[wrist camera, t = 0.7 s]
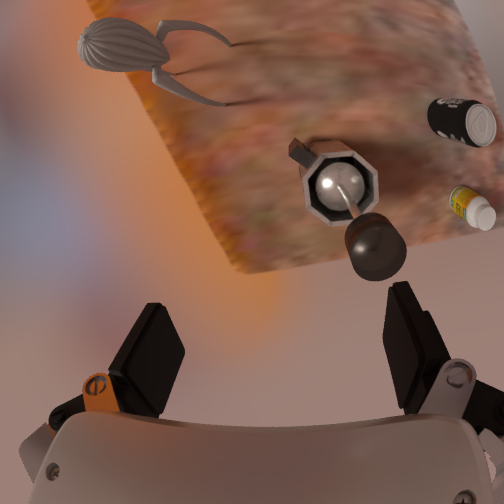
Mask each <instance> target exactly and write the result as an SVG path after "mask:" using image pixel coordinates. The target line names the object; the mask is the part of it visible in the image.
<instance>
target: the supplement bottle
mask: <svg viewBox="0 0 504 504" xmlns="http://www.w3.org/2000/svg"><path fill="white" fill-rule="evenodd" d="M449 203H450V207H451V209H452V210H453V211H454V212H455V213H456V214H457V215H459V216H460V217H461V218H462V219H463V220H465V221H466V222H467V223H468V224H469V225H471V226H472V227H474V228H480V229H481V230H483V231H487V230H489V229H491V228H492V226H493V225H494V223H495V220H496V213H495V210H494V209H493V208H492V207H491V206H490V204H489V202H488V201H487V200H486V199H485V198H484V197H482V196H481V195H479V194H477V193H476V192H474V191H472V190H471V189H469V188H468V187H466V186H458V187H456V188H455V189H454V190H453V191H452V193H451V195H450V201H449Z"/></svg>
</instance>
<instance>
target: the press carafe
mask: <svg viewBox="0 0 504 504" xmlns="http://www.w3.org/2000/svg"><path fill="white" fill-rule="evenodd" d="M289 156H290V157H291V158H292V159H294V160H295V161H297V162H298V163H299V170H300V176H301V180H302V187H303V193H304V199H305V205H306V209H307V210H309V211H310V212H311V213H313V214H314V215H315V216H317V217H318V218H319V219H320V220H322V221H323V222H324V223H326V224H327V225H328V226H330V227H331V226H341V225H349V224H350V223H351V222H352V221H353V220H354V218H353V216H352V215H351V213H350V211H349V209H347V210H341V211H338V210H333V209H330V208H328V207H326V206H325V205H324V204H323V203H322V202H321V201H320V199H319V197H318V195H317V192H316V187H315V184H316V178H317V176H318V174H319V172H320V171H321V170H322V168H324V167H325V166H326V165H328V164H330V163H333V162H346V163H349V164H351V165H352V166H354V167H355V168H356V169H357V170H358V171H359V172H360V174H361V175H362V178H363V180H364V192H363V195H362V198H361V199H360V201H359V202H358V203H357V204H356V205H357V206H358V208H359V210H360V211H361V213H362V214H365V213H369V212H370V211H371V210H372V209H373V207H374V206H375V205H376V204H377V203H378V202H379V191H378V171H377V170H376V169H374V168H373V167H372V166H371V165H370V164H369V163H368V162H367V161H366V160H364V159H363V158H362V157H361V156H360V155H359V154H358V153H356V152H355V151H354V150H352V149H351V148H350V147H348V146H347V145H345V144H343V143H342V142H340V141H339V140H337V139H335V140H321V141H315V142H313V143H312V144H311V145H310V146H309V147H307V146H306V145H304V144H303V143H302V142H300V141H299V140H298V139H296V138H294V140H293V141H292V142H291V143H290V145H289Z"/></svg>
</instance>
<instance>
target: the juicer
mask: <svg viewBox="0 0 504 504" xmlns="http://www.w3.org/2000/svg"><path fill="white" fill-rule="evenodd" d="M175 30H197V31H202V32H205V33H207V34H210V35H212V36H214V37H216V38H218V39H219V40H221V41H222V42H224V43H225V44H227V45H228V46H229V47H231V46H232V44H231V43H230V42H229V41H228V40H227V39H226V38H225V37H224V36H223V35H222V34H220V33H219V32H217V31H216V30H214V29H212V28H210V27H208V26H205V25H202V24H199V23H196V22H191V21H181V20H162V21H160V22H159V24H158V29H157V35H156V37H155V36H154V35H153V34H152V33H150V32H149V31H148V30H147V29H145V28H144V27H142V26H141V25H139V24H137V23H135V22H132V21H130V20H127V19H122V18H113V17H107V18H102V19H100V20H97V21H94V22H93V23H91V24H90V25H89V26H88V27H86V28H85V29H84V31H83V33H82V34H81V35H80V39H79V41H78V47H77V51H78V53H79V57H80V59H81V60H82V61H84V63H85V64H86V65H88V66H90V67H92V68H95V69H101V70H105V71H112V72H130V71H138V70H143V71H149V72H153V73H152V81H153V83H154V84H155V85H157V86H159V87H162V88H164V89H166V90H168V91H170V92H172V93H174V94H176V95H179V96H181V97H183V98H186V99H189V100H192V101H195V102H198V103H202V104H206V105H212V106H226V104H225V103H220V102H216V101H212V100H209V99H207V98H204V97H202V96H200V95H198V94H196V93H194V92H193V91H191V90H189V89H188V88H186V87H185V86H183V85H182V84H180V83H179V82H177V81H176V80H174V79H173V78H172V77H170V76H169V75H173V76H175V75H176V74H174V73H170V72H167V71H164V70H162V68H161V65H163V64H165V63H167V62H168V61H169V60H170V57H169V54H168V51H167V49H166V47H165V46H164V45H163V44H162V42H163V41H164V39H165V37H166V35H167V33H168V32H170V31H175Z"/></svg>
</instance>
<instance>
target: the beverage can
mask: <svg viewBox="0 0 504 504" xmlns="http://www.w3.org/2000/svg"><path fill="white" fill-rule="evenodd" d="M427 117H428V122H429V125H430V127H431V129H432V130H433V131H434V132H435V133H436V134H437V135H439V136H441V137H444V138H447V139H451V140H454V141H457V142H460V143H464V144H467V145H470V146H473V147H482V146H488V145H489V144H491V143H492V142H493V140H494V138H495V135H496V121H495V117H494V115H493V113H492V112H491V110H490V109H489V108H488V107H486V106H485V105H483V104H482V103H480V102H478V101H475V100H464V99H443V98H440V99H436V100H434V101H433V102H432V103H431V104H430V106H429V108H428V114H427Z"/></svg>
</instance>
